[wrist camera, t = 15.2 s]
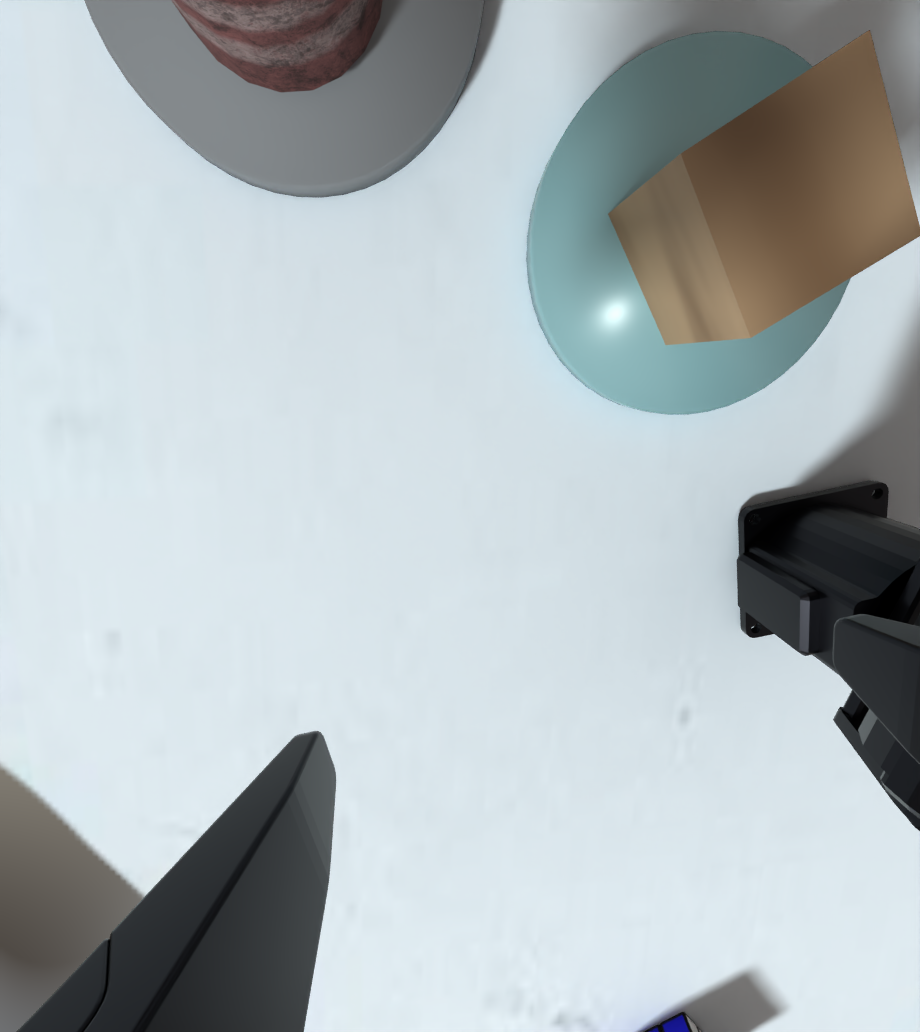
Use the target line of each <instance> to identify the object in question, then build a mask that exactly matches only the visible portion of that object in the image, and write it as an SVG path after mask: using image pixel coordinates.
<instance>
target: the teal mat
mask: <svg viewBox="0 0 920 1032" xmlns="http://www.w3.org/2000/svg"><path fill="white" fill-rule="evenodd" d="M811 68H812V66H811V65H810V64H809V63H808V62H807V61H805V60H804V59H803V58H802V57H800V56H798V55H797V54H795V53H794V52H792V51H791V50H789V49H788V48H786V47H784V46H782V45H780V44H777V43H775V42H773V41H770V40H768V39H765V38H763V37H759V36H754V35H750V34H745V33H741V32H724V31H713V32H705V33H697V34H691V35H687V36H684V37H680V38H677V39H673V40H670V41H667V42H665V43H663V44H660V45H658V46H656V47H654V48H652V49H650V50H647V51H645V52H644V53H642V54H641V55H639V56H637V57H636V58H634V59H633V60H631V61H630V62H628V63H627V64H625V65H624V66H622V67H621V68H620V69H619V70H618V71H616V72H615V73H614V74H613V75H612V76H611V77H609V78H608V79H607V80H606V81H605V82H604V83H602V84H601V86H600V87H599V88H598V89H597V90H596V91H595V92H594V93H593V94H592V96H591V97H590V98H589V99H588V100H587V101H586V102H585V103H584V105H583V106H582V107H581V109H580V110H579V112H578V113H577V115H576V116H575V117H574V119H573V120H572V122H571V123H570V125H569V126H568V128H567V129H566V131H565V133H564V134H563V136H562V138H561V139H560V141H559V143H558V145H557V146H556V148H555V150H554V152H553V154H552V156H551V158H550V159H549V161H548V163H547V165H546V168H545V170H544V173H543V175H542V178H541V180H540V183H539V185H538V188H537V192H536V195H535V199H534V203H533V206H532V210H531V215H530V222H529V228H528V235H527V258H526V260H527V273H528V284H529V288H530V293H531V298H532V303H533V307H534V310H535V313H536V316H537V319H538V322H539V325H540V327H541V329H542V331H543V333H544V335H545V337H546V339H547V341H548V343H549V345H550V346H551V348H552V349H553V351H554V352H555V354H556V355H557V357H558V358H559V360H560V361H561V362H562V363H563V364H564V366H565V367H566V368H567V369H568V370H569V371H570V372H571V374H572V375H573V376H575V377H576V378H577V379H578V380H579V381H580V382H582V383H583V384H584V385H585V386H586V387H588V388H589V389H591V390H592V391H594V392H595V393H597V394H599V395H600V396H602V397H604V398H606V399H608V400H610V401H613V402H615V403H617V404H620V405H623V406H627V407H630V408H634V409H637V410H642V411H647V412H653V413H661V414H668V415H669V414H694V413H701V412H708V411H711V410H715V409H719V408H722V407H726V406H729V405H731V404H733V403H736V402H738V401H741V400H743V399H745V398H747V397H749V396H751V395H753V394H754V393H756V392H758V391H760V390H761V389H763V388H765V387H766V386H768V385H769V384H770V383H772V382H773V381H775V380H776V379H777V378H779V377H780V376H781V375H783V374H784V373H785V372H786V371H787V370H788V369H789V368H790V367H791V366H793V365H794V364H795V363H796V362H797V361H798V360H799V359H800V358H801V357H802V356H803V355H804V353H805V352H806V351H807V350H808V349H809V348H810V347H811V346H812V344H813V343H814V342H815V341H816V339H817V338H818V337H819V335H820V334H821V332H822V331H823V330H824V328H825V327H826V325H827V324H828V322H829V321H830V319H831V317H832V315H833V314H834V312H835V310H836V309H837V307H838V305H839V303H840V301H841V299H842V297H843V294H844V292H845V290H846V288H847V285H848V283H849V281H850V278H849V279H848V280H846V281H844V282H843V283H841V284H839V285H838V286H836V287H835V288H833V289H831V290H830V291H828V292H826V293H825V294H823V295H821V296H820V297H818V298H816V299H815V300H813V301H811V302H810V303H808V304H806V305H805V306H803V307H801V308H800V309H798V310H796V311H795V312H793V313H791V314H790V315H788V316H786V317H785V318H783V319H782V320H780V321H778V322H777V323H775V324H773V325H772V326H770V327H768V328H767V329H765V330H763V331H762V332H760V333H758V334H757V335H755V336H753V337H752V338H745V339H733V340H722V341H710V342H698V343H686V344H674V345H665V343H664V340H663V338H662V336H661V334H660V331H659V329H658V327H657V324H656V322H655V320H654V318H653V315H652V313H651V311H650V308H649V306H648V304H647V302H646V299H645V297H644V295H643V293H642V290H641V288H640V286H639V283H638V281H637V279H636V277H635V274H634V272H633V270H632V267H631V265H630V263H629V261H628V258H627V256H626V254H625V252H624V249H623V247H622V245H621V242H620V240H619V238H618V236H617V233H616V231H615V229H614V226H613V224H612V222H611V220H610V217H609V215H608V213H610V212H611V211H612V210H613V209H614V208H616V207H617V206H618V205H619V204H620V203H622V202H623V201H624V200H625V199H627V198H628V197H629V196H630V195H631V194H633V193H634V192H635V191H636V190H637V189H639V188H640V187H641V186H642V185H643V184H645V183H646V182H647V181H648V180H649V179H651V178H652V177H653V176H654V175H655V174H657V173H658V172H659V171H660V170H661V169H663V168H664V167H665V166H666V165H668V164H669V163H670V162H671V161H672V160H674V159H675V158H676V157H677V156H678V155H680V154H681V153H682V152H684V151H685V150H687V149H688V148H690V147H692V146H693V145H695V144H696V143H698V142H699V141H701V140H702V139H704V138H705V137H707V136H708V135H710V134H711V133H713V132H714V131H716V130H717V129H719V128H721V127H722V126H724V125H725V124H727V123H728V122H730V121H731V120H733V119H734V118H736V117H737V116H739V115H740V114H742V113H743V112H745V111H746V110H748V109H750V108H751V107H753V106H754V105H756V104H757V103H759V102H760V101H762V100H763V99H765V98H766V97H768V96H769V95H771V94H772V93H774V92H776V91H777V90H779V89H780V88H782V87H783V86H785V85H786V84H788V83H789V82H791V81H792V80H794V79H795V78H797V77H798V76H800V75H801V74H803V73H805V72H806V71H808V70H809V69H811Z"/></svg>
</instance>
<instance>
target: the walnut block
mask: <svg viewBox="0 0 920 1032" xmlns="http://www.w3.org/2000/svg"><path fill="white" fill-rule="evenodd" d="M608 215H609V217H610V220H611V222H612V224H613V226H614V229H615V231H616V233H617V236H618V238H619V240H620V242H621V245H622V247H623V249H624V252H625V254H626V256H627V258H628V261H629V263H630V265H631V267H632V270H633V272H634V274H635V277H636V279H637V281H638V283H639V286H640V288H641V290H642V293H643V295H644V297H645V299H646V302H647V304H648V306H649V308H650V311H651V313H652V315H653V318H654V320H655V322H656V324H657V327H658V329H659V331H660V334H661V336H662V338H663V340H664V343H665V345H674V344H686V343H698V342H710V341H722V340H733V339H745V338H752V337H753V336H755V335H757V334H758V333H760V332H762V331H763V330H765V329H767V328H768V327H770V326H772V325H773V324H775V323H777V322H778V321H780V320H782V319H783V318H785V317H786V316H788V315H790V314H791V313H793V312H795V311H796V310H798V309H800V308H801V307H803V306H805V305H806V304H808V303H810V302H811V301H813V300H815V299H816V298H818V297H820V296H821V295H823V294H825V293H826V292H828V291H830V290H831V289H833V288H835V287H836V286H838V285H839V284H841V283H843V282H844V281H846V280H848V279H849V278H851V277H853V276H854V275H856V274H858V273H859V272H861V271H863V270H864V269H866V268H868V267H869V266H871V265H873V264H874V263H876V262H878V261H879V260H881V259H883V258H884V257H886V256H887V255H889V254H891V253H892V252H894V251H896V250H897V249H899V248H901V247H902V246H904V245H906V244H907V243H909V242H911V241H912V240H914V239H916V238H917V237H919V236H920V226H919V222H918V218H917V214H916V210H915V206H914V202H913V198H912V194H911V190H910V186H909V182H908V179H907V175H906V171H905V167H904V163H903V159H902V155H901V151H900V147H899V143H898V139H897V135H896V131H895V127H894V123H893V119H892V115H891V111H890V108H889V104H888V100H887V96H886V92H885V88H884V84H883V80H882V76H881V72H880V68H879V64H878V60H877V56H876V52H875V48H874V44H873V40H872V37H871V33H870V30H869V31H867V32H866V33H864V34H863V35H861V36H860V37H858V38H856V39H855V40H853V41H852V42H850V43H849V44H847V45H846V46H844V47H843V48H841V49H840V50H838V51H837V52H835V53H834V54H832V55H830V56H829V57H827V58H826V59H824V60H823V61H821V62H820V63H818V64H817V65H815V66H814V67H812V68H811V69H809V70H808V71H806V72H805V73H803V74H801V75H800V76H798V77H797V78H795V79H794V80H792V81H791V82H789V83H788V84H786V85H785V86H783V87H782V88H780V89H779V90H777V91H776V92H774V93H772V94H771V95H769V96H768V97H766V98H765V99H763V100H762V101H760V102H759V103H757V104H756V105H754V106H753V107H751V108H750V109H748V110H746V111H745V112H743V113H742V114H740V115H739V116H737V117H736V118H734V119H733V120H731V121H730V122H728V123H727V124H725V125H724V126H722V127H721V128H719V129H717V130H716V131H714V132H713V133H711V134H710V135H708V136H707V137H705V138H704V139H702V140H701V141H699V142H698V143H696V144H695V145H693V146H692V147H690V148H688V149H687V150H685V151H684V152H682V153H681V154H680V155H678V156H677V157H676V158H675V159H674V160H672V161H671V162H670V163H669V164H668V165H666V166H665V167H664V168H663V169H661V170H660V171H659V172H658V173H657V174H655V175H654V176H653V177H652V178H651V179H649V180H648V181H647V182H646V183H645V184H643V185H642V186H641V187H640V188H639V189H637V190H636V191H635V192H634V193H633V194H631V195H630V196H629V197H628V198H627V199H625V200H624V201H623V202H622V203H620V204H619V205H618V206H617V207H616V208H614V209H613V210H612V211H611V212H610V213H608Z"/></svg>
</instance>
